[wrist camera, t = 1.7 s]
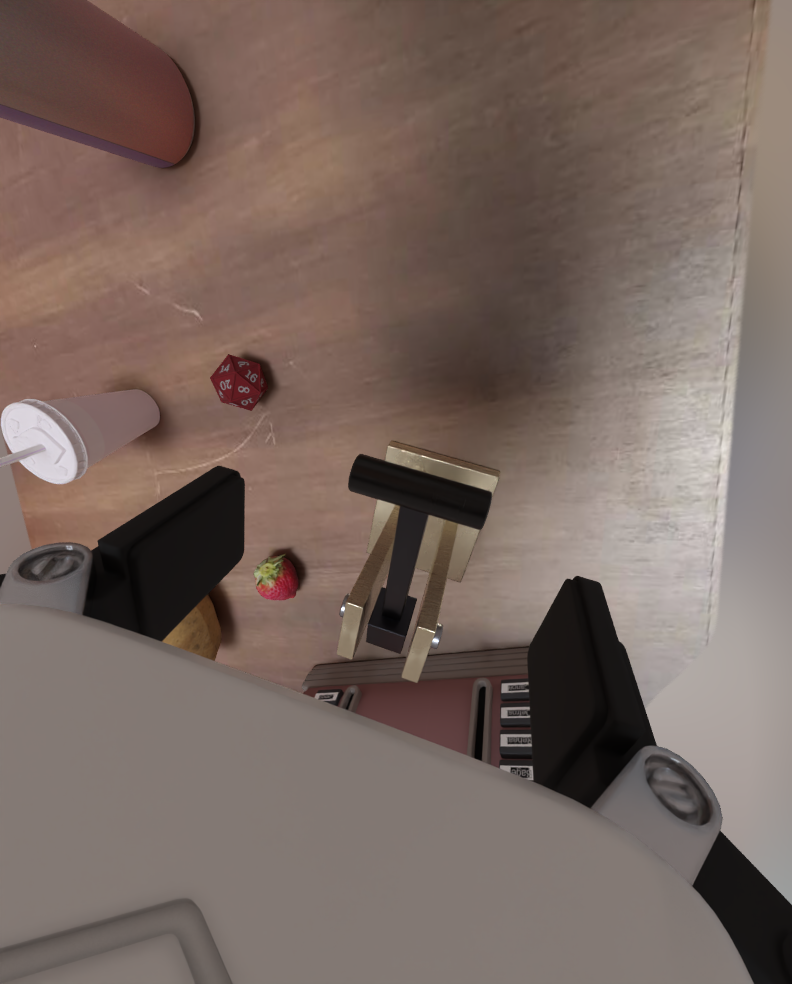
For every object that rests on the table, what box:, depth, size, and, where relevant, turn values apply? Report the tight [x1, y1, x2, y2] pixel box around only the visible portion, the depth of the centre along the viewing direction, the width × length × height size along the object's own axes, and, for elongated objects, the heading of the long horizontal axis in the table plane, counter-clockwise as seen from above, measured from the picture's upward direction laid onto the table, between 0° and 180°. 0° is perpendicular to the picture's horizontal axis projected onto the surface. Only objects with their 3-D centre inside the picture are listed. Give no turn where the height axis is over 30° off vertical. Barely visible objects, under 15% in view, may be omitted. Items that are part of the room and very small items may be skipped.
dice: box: [210, 354, 268, 411], centre depth 31 cm, size 4×4×4 cm
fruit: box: [254, 554, 299, 600], centre depth 40 cm, size 4×6×5 cm
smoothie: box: [0, 389, 160, 484], centre depth 31 cm, size 6×6×14 cm
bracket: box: [337, 441, 500, 683], centre depth 29 cm, size 11×9×15 cm
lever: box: [348, 454, 492, 654], centre depth 19 cm, size 14×5×2 cm, turn 169°
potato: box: [162, 594, 221, 661], centre depth 44 cm, size 9×16×9 cm, turn 9°
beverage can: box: [0, 0, 195, 168], centre depth 20 cm, size 6×6×15 cm
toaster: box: [302, 647, 534, 782], centre depth 41 cm, size 30×36×17 cm
